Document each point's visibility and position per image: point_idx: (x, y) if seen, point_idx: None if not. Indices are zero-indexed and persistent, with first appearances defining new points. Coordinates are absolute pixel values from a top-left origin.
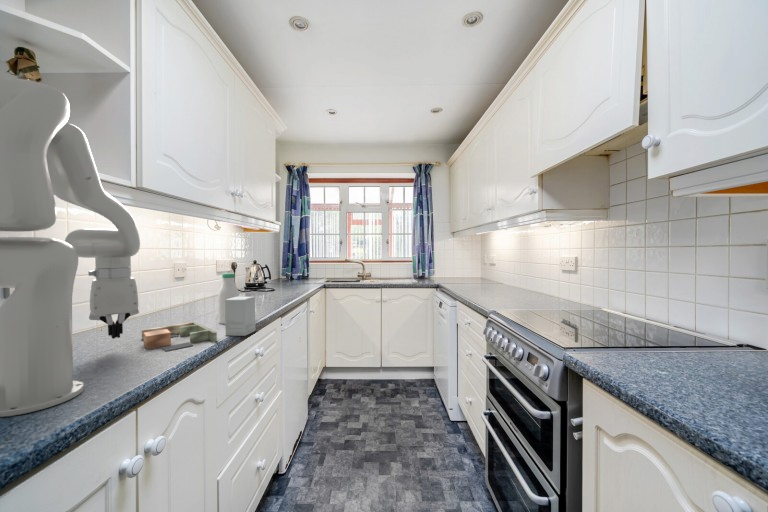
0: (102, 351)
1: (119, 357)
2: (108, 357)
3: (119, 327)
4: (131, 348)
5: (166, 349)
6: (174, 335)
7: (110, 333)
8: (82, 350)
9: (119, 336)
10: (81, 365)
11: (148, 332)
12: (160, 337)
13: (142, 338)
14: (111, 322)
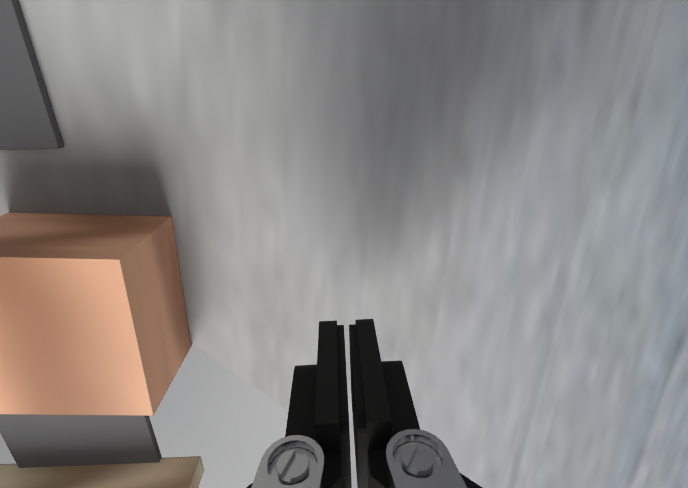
0: (403, 352)
1: (339, 114)
2: (396, 176)
3: (319, 387)
4: (259, 304)
5: (8, 37)
6: (12, 421)
7: (391, 367)
8: (475, 438)
9: (323, 323)
10: (555, 92)
11: (115, 390)
12: (24, 243)
13: (197, 462)
14: (405, 461)
